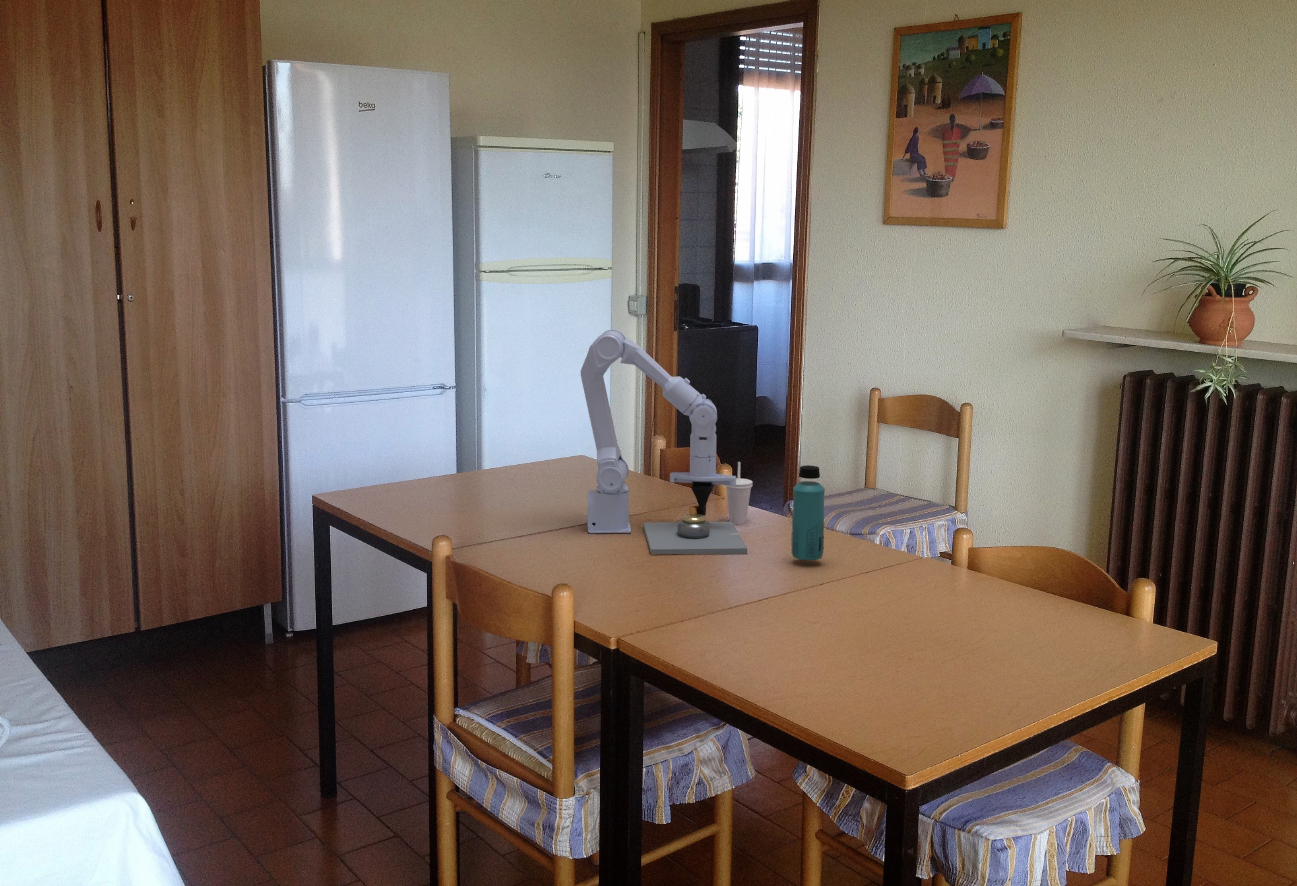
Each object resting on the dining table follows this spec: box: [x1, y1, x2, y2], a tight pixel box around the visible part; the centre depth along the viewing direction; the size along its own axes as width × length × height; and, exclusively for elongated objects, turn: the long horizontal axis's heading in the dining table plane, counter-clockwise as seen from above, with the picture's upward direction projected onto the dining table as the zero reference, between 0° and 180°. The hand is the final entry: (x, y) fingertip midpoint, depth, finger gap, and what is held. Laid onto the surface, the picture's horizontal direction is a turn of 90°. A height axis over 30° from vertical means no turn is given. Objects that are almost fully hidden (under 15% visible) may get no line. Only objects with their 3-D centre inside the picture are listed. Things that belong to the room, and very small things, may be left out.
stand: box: [642, 521, 748, 555], centre depth 250 cm, size 20×22×1 cm
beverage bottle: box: [790, 464, 826, 561], centre depth 233 cm, size 6×7×20 cm
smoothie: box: [724, 461, 754, 525], centre depth 265 cm, size 6×6×14 cm
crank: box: [677, 503, 711, 538], centre depth 252 cm, size 12×7×4 cm, turn 177°
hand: (702, 515), depth 257 cm, fingers closed
